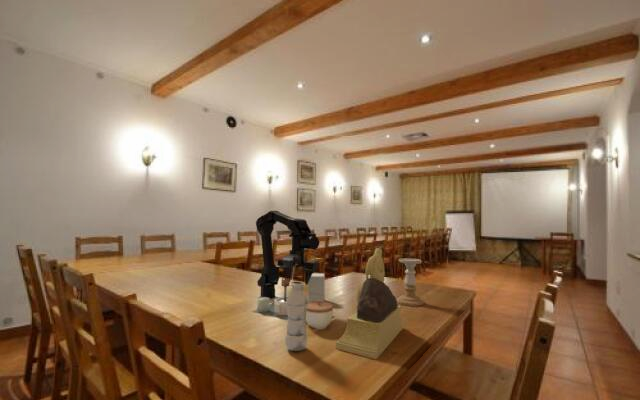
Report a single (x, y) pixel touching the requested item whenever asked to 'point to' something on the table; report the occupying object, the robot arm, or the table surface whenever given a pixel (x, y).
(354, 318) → the statue with dark rock
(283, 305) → the octagonal white frame
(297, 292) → the plastic bottle
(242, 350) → the table surface
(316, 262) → the robot arm
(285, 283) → the coffee tamper
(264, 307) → the sage green dome
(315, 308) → the lidded jar
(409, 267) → the candle holder
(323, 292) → the supplement box
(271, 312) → the slate tray
